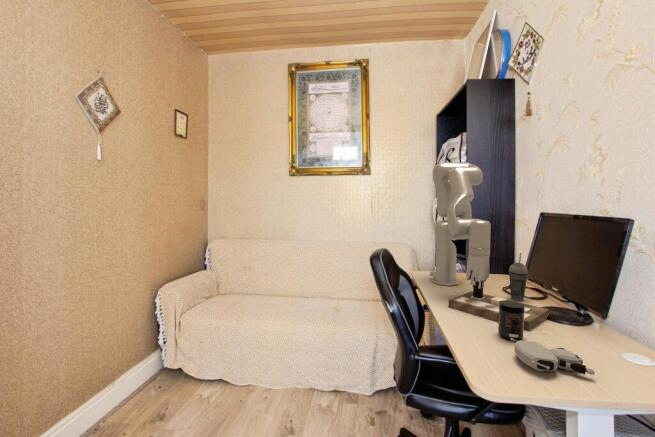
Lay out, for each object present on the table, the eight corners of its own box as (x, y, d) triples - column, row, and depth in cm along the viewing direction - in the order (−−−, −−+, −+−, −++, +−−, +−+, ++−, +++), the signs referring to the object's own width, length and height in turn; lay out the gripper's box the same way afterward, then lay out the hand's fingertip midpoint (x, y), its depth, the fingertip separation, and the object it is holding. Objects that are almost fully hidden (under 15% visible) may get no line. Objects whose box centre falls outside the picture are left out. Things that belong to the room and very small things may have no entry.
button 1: (470, 303, 123) (470, 296, 123) (474, 300, 125) (475, 294, 125) (480, 305, 120) (480, 299, 120) (484, 303, 122) (485, 297, 122)
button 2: (513, 314, 110) (513, 308, 110) (518, 312, 113) (518, 305, 112) (526, 318, 107) (526, 311, 107) (530, 315, 110) (530, 308, 109)
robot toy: (566, 359, 83) (506, 351, 86) (568, 343, 83) (508, 335, 85) (597, 387, 71) (527, 376, 73) (600, 368, 71) (529, 358, 73)
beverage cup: (521, 297, 133) (523, 251, 131) (531, 302, 125) (533, 254, 124) (504, 296, 133) (505, 250, 132) (512, 302, 126) (514, 253, 125)
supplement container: (517, 332, 97) (518, 300, 97) (527, 342, 91) (529, 308, 90) (494, 331, 98) (495, 299, 98) (503, 341, 92) (504, 307, 91)
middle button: (490, 305, 116) (491, 299, 116) (495, 303, 119) (495, 296, 119) (501, 308, 113) (502, 301, 113) (506, 306, 116) (506, 299, 116)
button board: (448, 307, 121) (448, 298, 120) (471, 297, 132) (471, 290, 131) (529, 331, 98) (529, 321, 98) (548, 317, 109) (548, 308, 109)
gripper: (478, 248, 129) (477, 291, 130) (460, 252, 119) (459, 298, 120) (497, 251, 123) (496, 296, 124) (479, 255, 113) (478, 303, 115)
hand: (477, 297), depth 122 cm, fingers closed
